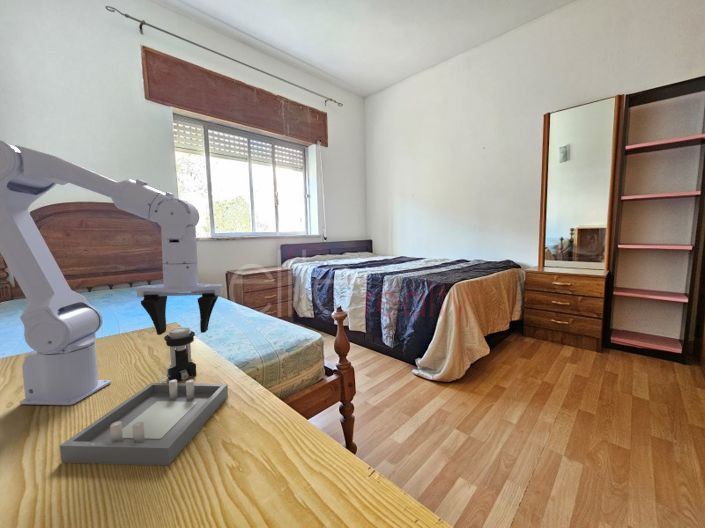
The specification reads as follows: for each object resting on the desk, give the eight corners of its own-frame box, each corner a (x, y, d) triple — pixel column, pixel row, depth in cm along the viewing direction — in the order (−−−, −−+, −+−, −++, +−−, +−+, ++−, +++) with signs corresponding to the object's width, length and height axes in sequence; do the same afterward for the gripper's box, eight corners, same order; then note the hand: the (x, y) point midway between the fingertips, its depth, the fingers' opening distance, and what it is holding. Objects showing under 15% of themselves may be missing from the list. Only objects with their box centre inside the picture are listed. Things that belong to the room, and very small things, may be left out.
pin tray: (61, 462, 36) (58, 434, 36) (152, 394, 52) (151, 374, 52) (169, 465, 36) (167, 436, 36) (227, 396, 52) (227, 375, 52)
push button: (164, 390, 54) (161, 338, 53) (154, 381, 57) (152, 332, 57) (201, 377, 59) (199, 329, 58) (190, 369, 63) (188, 324, 62)
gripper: (125, 265, 50) (129, 341, 51) (215, 264, 52) (217, 336, 54) (146, 261, 57) (149, 329, 58) (224, 261, 59) (226, 325, 60)
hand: (183, 332), depth 56 cm, fingers open, 7 cm apart
